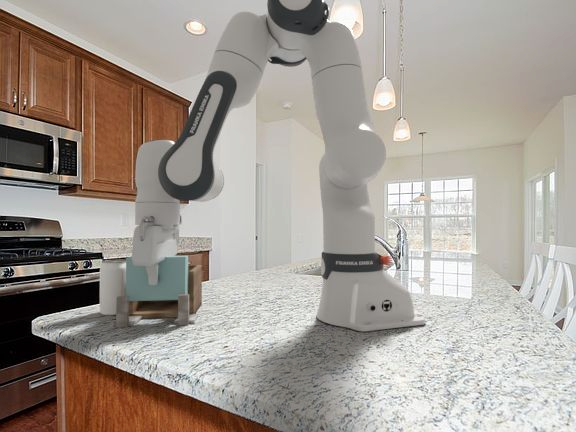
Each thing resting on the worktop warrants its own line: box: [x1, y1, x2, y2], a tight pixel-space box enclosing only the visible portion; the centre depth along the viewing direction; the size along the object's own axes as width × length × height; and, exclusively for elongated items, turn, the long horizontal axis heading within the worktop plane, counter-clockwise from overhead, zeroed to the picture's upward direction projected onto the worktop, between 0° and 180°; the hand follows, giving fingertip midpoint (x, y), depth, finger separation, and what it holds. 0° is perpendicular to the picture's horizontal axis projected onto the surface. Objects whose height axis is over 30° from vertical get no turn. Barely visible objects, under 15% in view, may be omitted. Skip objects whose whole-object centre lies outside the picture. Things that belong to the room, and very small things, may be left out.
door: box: [125, 255, 189, 301], centre depth 69 cm, size 12×4×9 cm, turn 96°
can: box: [99, 258, 126, 317], centre depth 76 cm, size 6×6×12 cm
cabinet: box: [112, 264, 203, 328], centre depth 74 cm, size 16×17×10 cm
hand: (157, 281), depth 69 cm, fingers closed on door, 4 cm apart
